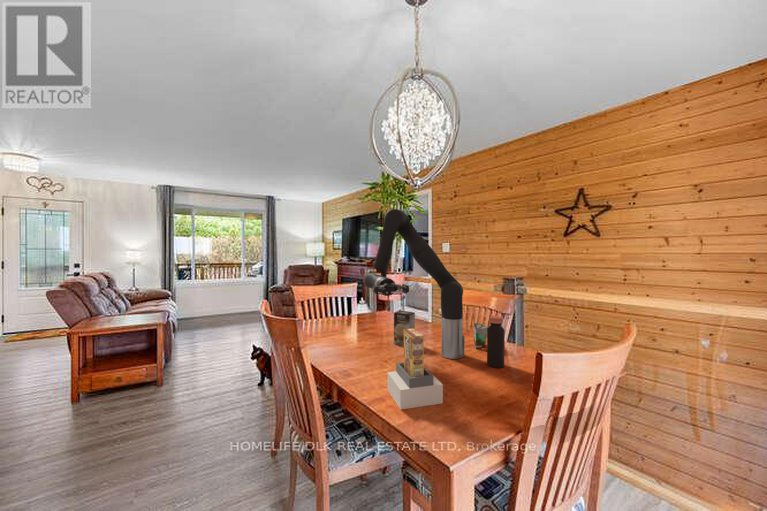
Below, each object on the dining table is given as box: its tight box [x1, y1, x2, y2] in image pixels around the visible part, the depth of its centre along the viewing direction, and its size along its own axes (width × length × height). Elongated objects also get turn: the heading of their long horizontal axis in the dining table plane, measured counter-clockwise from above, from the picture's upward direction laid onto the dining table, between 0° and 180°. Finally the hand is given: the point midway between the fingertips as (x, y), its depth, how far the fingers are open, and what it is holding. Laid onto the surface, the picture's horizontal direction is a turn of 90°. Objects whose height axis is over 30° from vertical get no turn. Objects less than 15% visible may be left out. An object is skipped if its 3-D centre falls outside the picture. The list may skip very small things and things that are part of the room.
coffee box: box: [393, 310, 416, 347], centre depth 160 cm, size 9×6×16 cm
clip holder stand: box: [387, 361, 444, 411], centre depth 105 cm, size 14×14×9 cm
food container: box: [473, 322, 488, 350], centre depth 156 cm, size 12×6×10 cm, turn 168°
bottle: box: [486, 315, 506, 369], centre depth 132 cm, size 7×7×20 cm
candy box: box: [403, 329, 425, 377], centre depth 105 cm, size 9×4×15 cm, turn 15°
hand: (396, 291), depth 123 cm, fingers open, 8 cm apart
